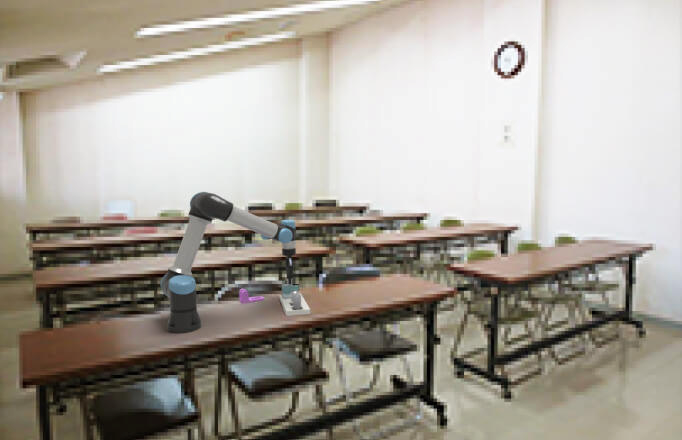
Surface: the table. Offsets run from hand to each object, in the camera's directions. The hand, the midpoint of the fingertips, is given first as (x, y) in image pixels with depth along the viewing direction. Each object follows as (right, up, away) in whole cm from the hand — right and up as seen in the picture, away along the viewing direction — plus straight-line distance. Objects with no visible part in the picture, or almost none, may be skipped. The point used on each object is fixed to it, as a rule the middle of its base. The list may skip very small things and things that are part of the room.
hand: (289, 289), depth 262 cm
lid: (+1, -3, -4) cm, 5 cm away
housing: (+4, -7, -13) cm, 15 cm away
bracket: (-20, -6, -3) cm, 21 cm away
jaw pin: (+5, -7, -17) cm, 19 cm away
